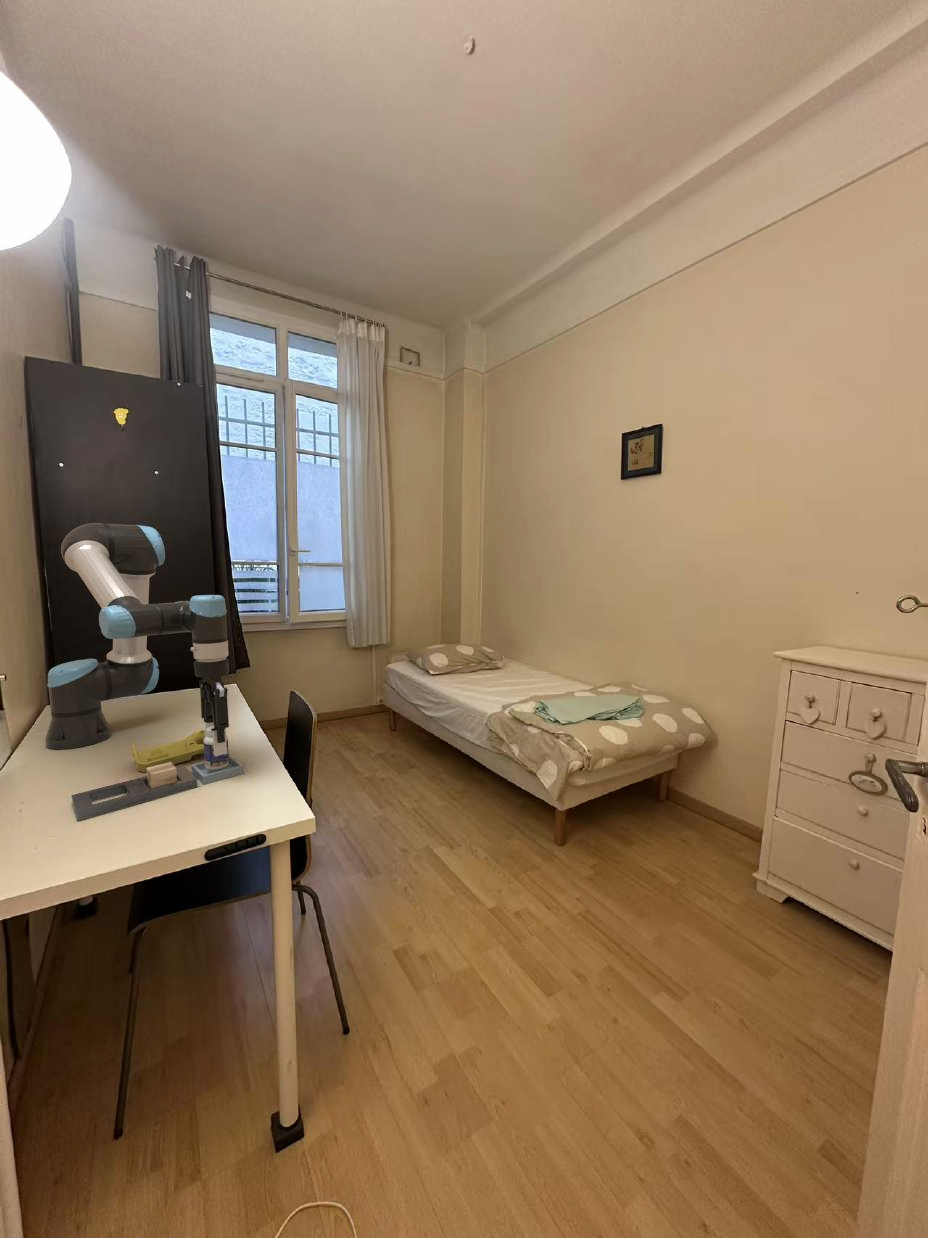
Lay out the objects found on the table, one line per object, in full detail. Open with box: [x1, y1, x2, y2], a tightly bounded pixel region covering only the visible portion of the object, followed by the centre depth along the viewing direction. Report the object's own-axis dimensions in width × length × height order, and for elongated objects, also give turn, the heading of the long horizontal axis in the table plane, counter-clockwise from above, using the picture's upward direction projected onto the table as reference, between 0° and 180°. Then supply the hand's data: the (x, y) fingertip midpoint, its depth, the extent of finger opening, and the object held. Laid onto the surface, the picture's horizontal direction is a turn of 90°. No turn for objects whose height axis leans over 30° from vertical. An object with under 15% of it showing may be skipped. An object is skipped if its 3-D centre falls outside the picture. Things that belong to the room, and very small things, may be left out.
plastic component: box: [131, 729, 206, 773], centre depth 130 cm, size 20×7×10 cm
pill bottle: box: [203, 726, 230, 770], centre depth 120 cm, size 5×5×10 cm
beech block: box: [146, 762, 177, 789], centre depth 112 cm, size 5×5×5 cm
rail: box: [71, 766, 198, 822], centre depth 109 cm, size 10×22×2 cm, turn 134°
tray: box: [191, 754, 245, 786], centre depth 121 cm, size 9×9×2 cm
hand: (216, 750), depth 120 cm, fingers closed on pill bottle, 5 cm apart
